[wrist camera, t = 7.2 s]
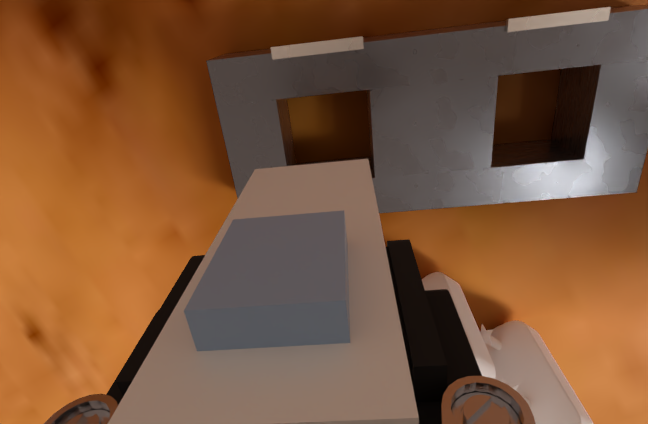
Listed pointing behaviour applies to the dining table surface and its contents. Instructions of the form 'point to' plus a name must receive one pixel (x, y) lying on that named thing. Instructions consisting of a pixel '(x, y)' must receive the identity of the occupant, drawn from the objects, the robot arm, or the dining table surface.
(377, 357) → the plug
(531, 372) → the cable organizer
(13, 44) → the dining table surface
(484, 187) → the jack panel
